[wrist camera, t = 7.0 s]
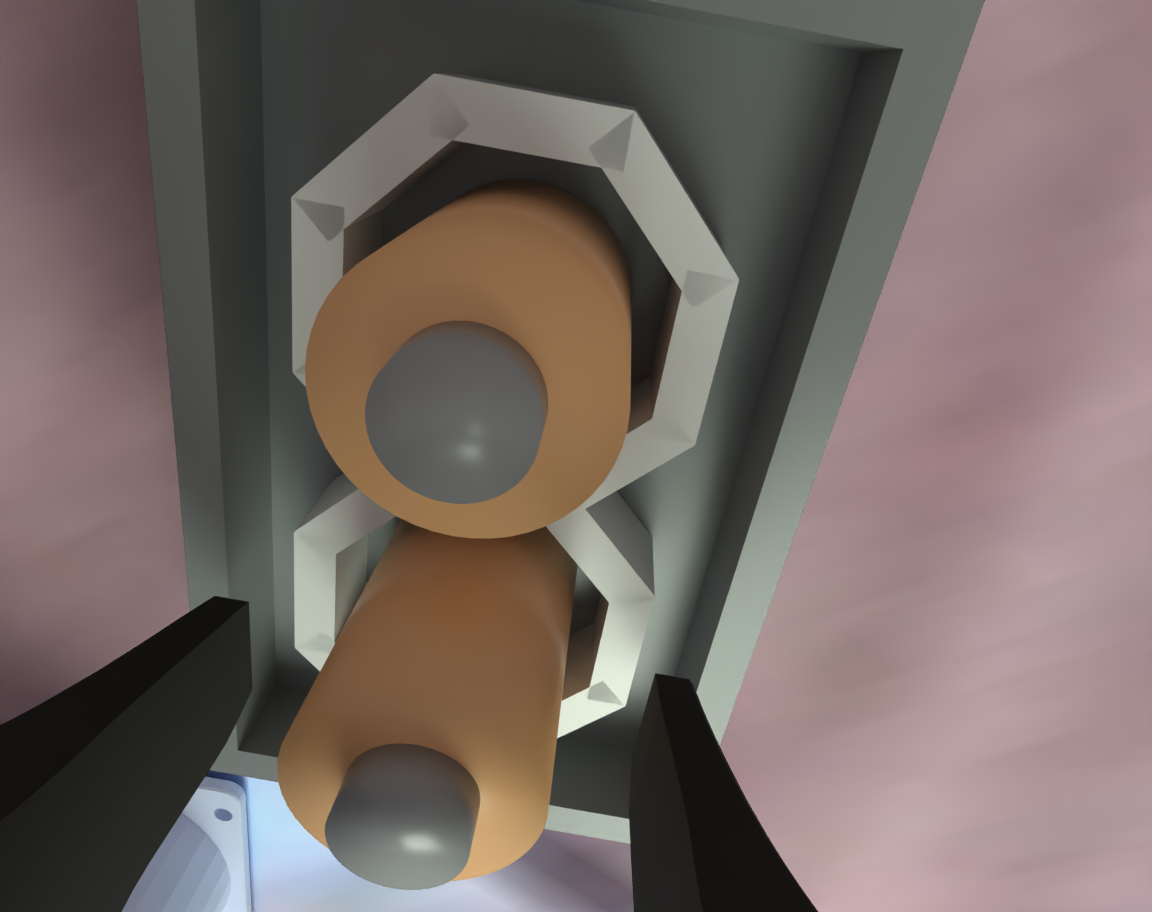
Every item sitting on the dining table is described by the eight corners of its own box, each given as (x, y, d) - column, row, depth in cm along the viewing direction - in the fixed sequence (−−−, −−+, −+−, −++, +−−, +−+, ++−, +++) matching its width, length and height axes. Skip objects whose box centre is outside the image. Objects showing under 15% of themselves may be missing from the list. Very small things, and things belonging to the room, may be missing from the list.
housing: (674, 747, 20) (693, 1043, 14) (262, 675, 20) (96, 941, 14) (910, 9, 12) (1188, -63, 6) (235, -118, 12) (-174, -321, 6)
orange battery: (561, 645, 17) (521, 953, 11) (389, 614, 17) (255, 906, 11) (592, 497, 15) (565, 767, 9) (400, 461, 15) (247, 710, 9)
